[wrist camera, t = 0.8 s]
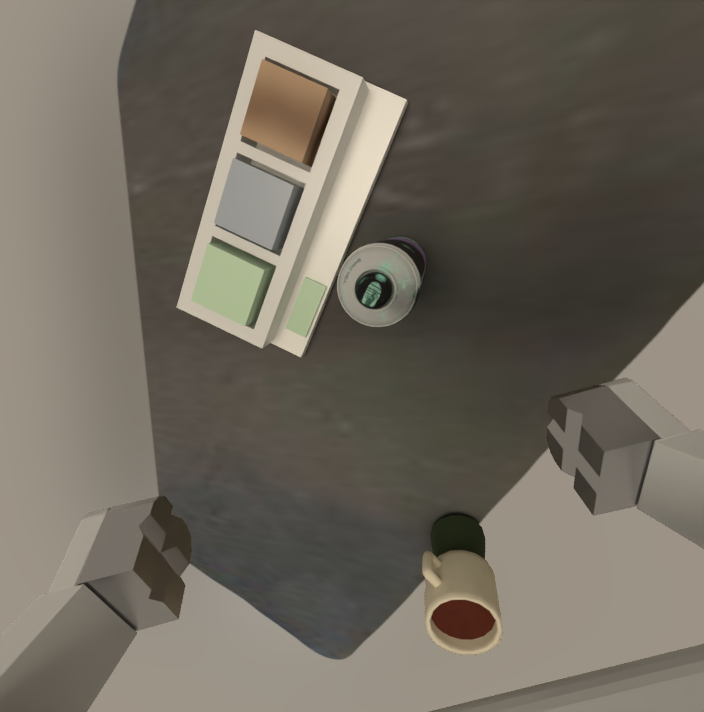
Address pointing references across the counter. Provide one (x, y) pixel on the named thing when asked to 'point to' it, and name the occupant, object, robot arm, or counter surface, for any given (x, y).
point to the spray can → (382, 281)
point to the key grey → (258, 205)
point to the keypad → (317, 204)
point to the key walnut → (288, 113)
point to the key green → (232, 282)
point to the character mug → (460, 589)
